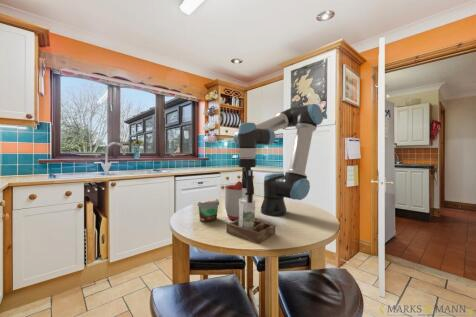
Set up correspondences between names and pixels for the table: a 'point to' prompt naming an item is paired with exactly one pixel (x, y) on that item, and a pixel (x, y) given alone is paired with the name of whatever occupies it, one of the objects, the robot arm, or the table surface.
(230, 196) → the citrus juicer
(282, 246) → the table surface
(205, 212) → the food container
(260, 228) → the socket block
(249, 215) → the syrup box
